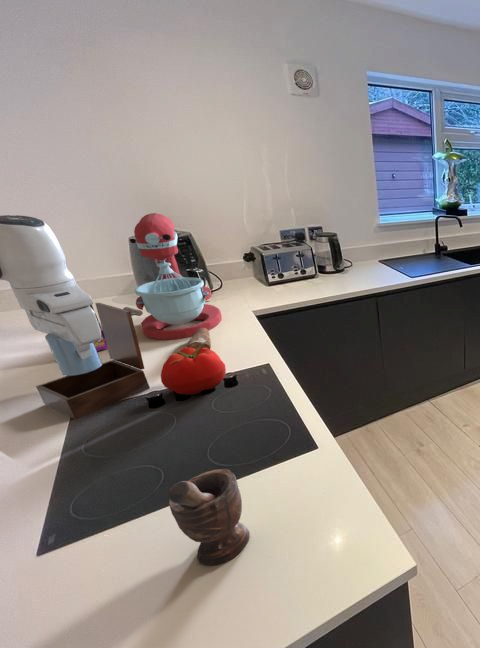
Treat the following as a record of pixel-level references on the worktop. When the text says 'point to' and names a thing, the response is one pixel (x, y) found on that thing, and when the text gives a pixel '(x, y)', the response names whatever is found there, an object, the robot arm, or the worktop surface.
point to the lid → (121, 334)
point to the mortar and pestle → (210, 515)
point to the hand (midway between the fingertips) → (76, 353)
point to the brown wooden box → (93, 389)
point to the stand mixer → (170, 285)
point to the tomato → (192, 371)
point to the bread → (200, 339)
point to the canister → (72, 357)
